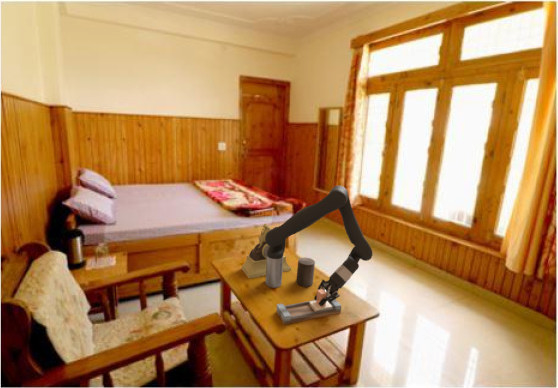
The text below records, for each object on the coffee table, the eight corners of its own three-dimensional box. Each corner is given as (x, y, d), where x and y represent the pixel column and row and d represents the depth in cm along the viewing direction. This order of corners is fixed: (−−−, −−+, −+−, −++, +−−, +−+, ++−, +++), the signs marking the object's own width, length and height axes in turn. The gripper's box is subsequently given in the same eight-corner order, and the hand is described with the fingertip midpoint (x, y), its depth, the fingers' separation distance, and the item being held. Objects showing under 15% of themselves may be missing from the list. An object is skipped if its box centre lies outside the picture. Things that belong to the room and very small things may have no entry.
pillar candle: (298, 287, 165) (300, 262, 162) (294, 278, 174) (296, 255, 171) (315, 286, 167) (317, 262, 164) (310, 278, 176) (312, 254, 173)
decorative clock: (249, 278, 172) (250, 230, 165) (241, 269, 183) (242, 223, 176) (291, 270, 185) (294, 225, 178) (281, 262, 196) (284, 219, 189)
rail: (276, 311, 142) (276, 304, 141) (329, 301, 153) (330, 294, 152) (284, 324, 133) (284, 316, 132) (340, 312, 144) (341, 305, 143)
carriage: (309, 304, 147) (310, 289, 145) (324, 301, 150) (326, 286, 148) (315, 312, 140) (317, 296, 139) (332, 309, 144) (333, 293, 142)
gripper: (329, 265, 151) (306, 290, 149) (345, 279, 138) (320, 306, 136) (337, 273, 154) (314, 298, 152) (353, 287, 141) (329, 314, 139)
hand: (317, 302), depth 144 cm, fingers closed on carriage, 4 cm apart
